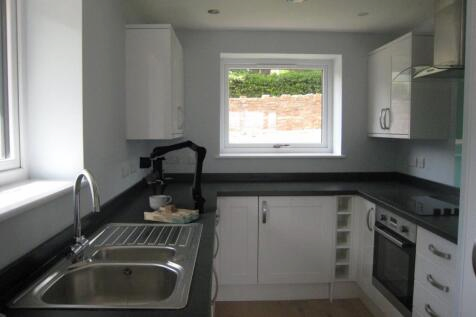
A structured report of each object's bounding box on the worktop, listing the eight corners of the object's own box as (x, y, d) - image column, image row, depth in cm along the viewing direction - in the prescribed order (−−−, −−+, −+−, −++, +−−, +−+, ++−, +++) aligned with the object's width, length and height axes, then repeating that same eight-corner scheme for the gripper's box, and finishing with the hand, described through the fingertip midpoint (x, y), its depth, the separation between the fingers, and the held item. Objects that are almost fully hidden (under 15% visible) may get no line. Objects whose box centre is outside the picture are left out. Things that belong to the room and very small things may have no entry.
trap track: (160, 213, 222) (160, 206, 221) (198, 217, 211) (198, 209, 211) (144, 219, 208) (144, 211, 208) (184, 224, 197) (184, 215, 197)
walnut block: (169, 211, 216) (169, 204, 216) (175, 212, 214) (175, 205, 214) (165, 213, 212) (165, 206, 212) (171, 213, 211) (171, 206, 210)
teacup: (149, 211, 229) (149, 198, 228) (149, 207, 240) (148, 195, 239) (172, 209, 233) (172, 196, 232) (171, 206, 243) (171, 193, 243)
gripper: (135, 168, 211) (136, 196, 212) (162, 170, 203) (163, 198, 205) (147, 167, 221) (148, 193, 223) (174, 168, 214) (174, 195, 215)
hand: (158, 195), depth 216 cm, fingers open, 4 cm apart
